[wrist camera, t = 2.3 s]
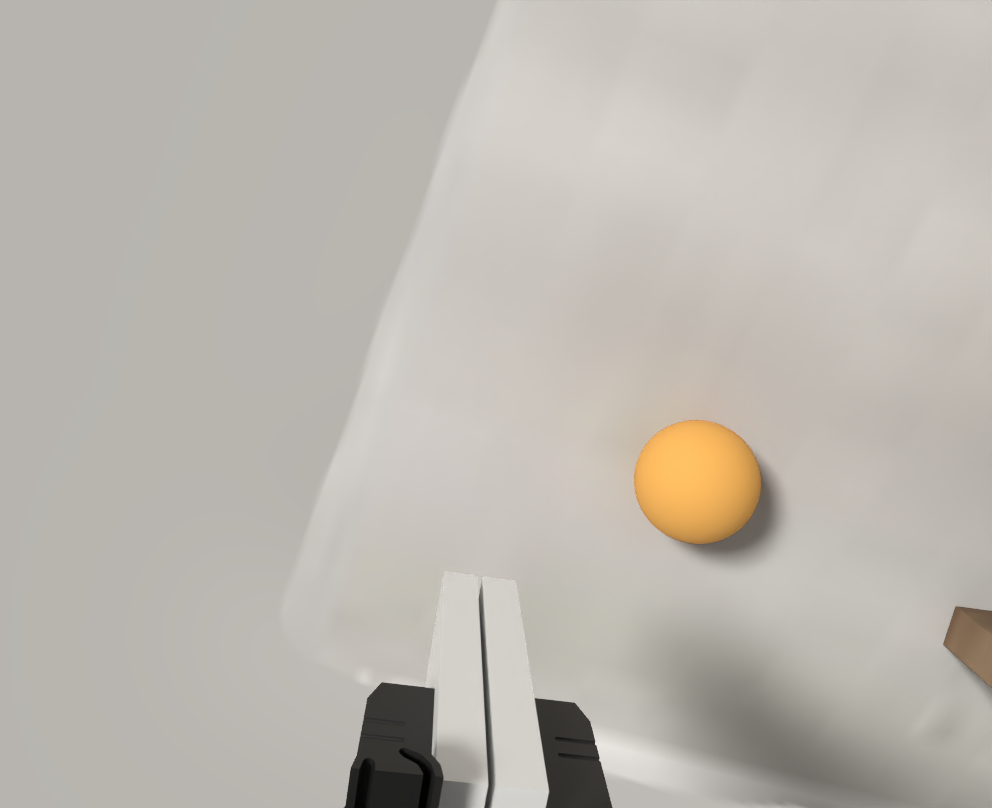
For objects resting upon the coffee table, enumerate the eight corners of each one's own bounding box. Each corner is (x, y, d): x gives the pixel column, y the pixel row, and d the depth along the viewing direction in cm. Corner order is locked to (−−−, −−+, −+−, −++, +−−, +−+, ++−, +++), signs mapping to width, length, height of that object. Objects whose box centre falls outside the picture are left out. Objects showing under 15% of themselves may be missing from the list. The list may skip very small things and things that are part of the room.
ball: (748, 416, 34) (796, 450, 29) (721, 522, 35) (763, 572, 30) (635, 399, 33) (665, 431, 29) (613, 507, 35) (637, 556, 30)
